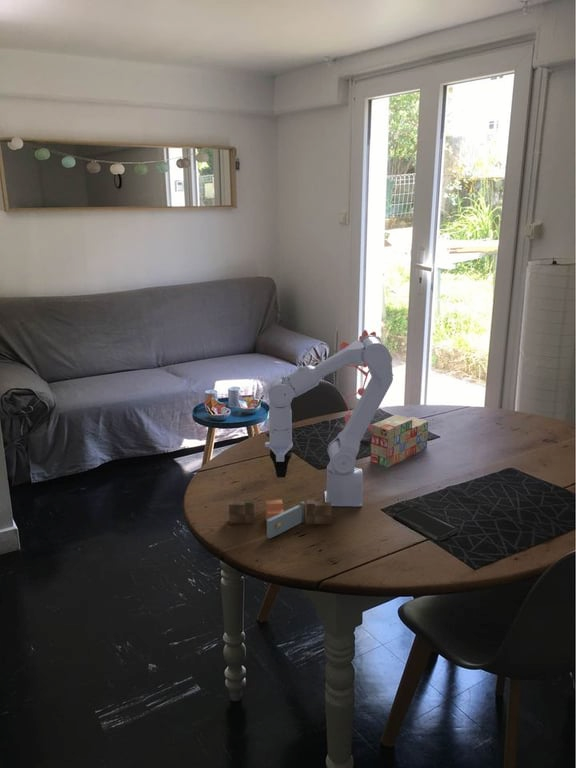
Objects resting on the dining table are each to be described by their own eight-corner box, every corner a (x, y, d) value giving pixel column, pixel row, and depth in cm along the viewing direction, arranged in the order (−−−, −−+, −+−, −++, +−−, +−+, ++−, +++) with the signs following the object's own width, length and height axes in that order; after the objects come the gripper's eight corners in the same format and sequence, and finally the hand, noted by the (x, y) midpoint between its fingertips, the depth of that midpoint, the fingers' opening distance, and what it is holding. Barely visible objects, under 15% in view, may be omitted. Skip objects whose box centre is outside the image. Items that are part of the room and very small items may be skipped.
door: (301, 519, 157) (302, 501, 155) (307, 522, 155) (308, 503, 154) (266, 537, 148) (266, 518, 147) (272, 540, 147) (272, 521, 146)
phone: (412, 504, 163) (460, 528, 152) (412, 508, 163) (459, 532, 152) (391, 514, 158) (438, 538, 147) (390, 518, 159) (438, 542, 147)
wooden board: (330, 520, 156) (331, 500, 155) (331, 524, 155) (331, 504, 153) (230, 519, 157) (229, 499, 155) (229, 523, 155) (228, 502, 153)
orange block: (281, 517, 158) (281, 499, 157) (285, 529, 153) (285, 510, 151) (265, 518, 158) (265, 500, 156) (269, 530, 152) (268, 512, 150)
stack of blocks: (410, 443, 205) (412, 407, 202) (427, 448, 201) (429, 412, 198) (369, 462, 191) (371, 423, 187) (386, 468, 187) (388, 429, 183)
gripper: (266, 417, 167) (267, 464, 171) (263, 437, 154) (264, 488, 157) (292, 417, 167) (293, 464, 171) (292, 437, 153) (292, 488, 157)
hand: (281, 476), depth 164 cm, fingers closed
